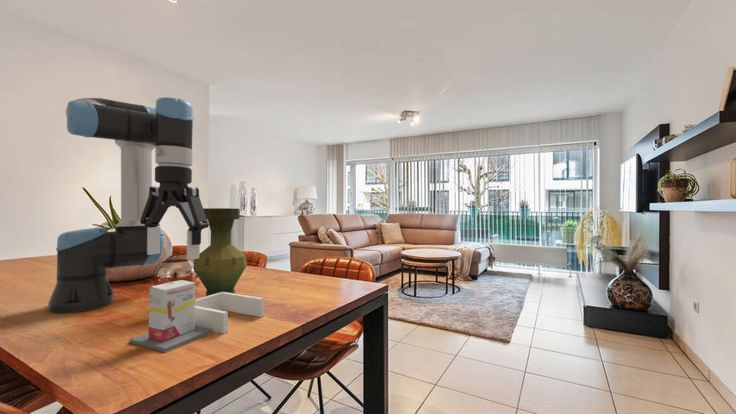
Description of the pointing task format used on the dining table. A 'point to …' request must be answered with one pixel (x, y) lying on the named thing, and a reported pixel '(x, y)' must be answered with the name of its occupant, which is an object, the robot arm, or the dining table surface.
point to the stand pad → (171, 343)
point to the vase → (220, 254)
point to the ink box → (171, 310)
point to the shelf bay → (216, 319)
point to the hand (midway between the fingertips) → (172, 256)
